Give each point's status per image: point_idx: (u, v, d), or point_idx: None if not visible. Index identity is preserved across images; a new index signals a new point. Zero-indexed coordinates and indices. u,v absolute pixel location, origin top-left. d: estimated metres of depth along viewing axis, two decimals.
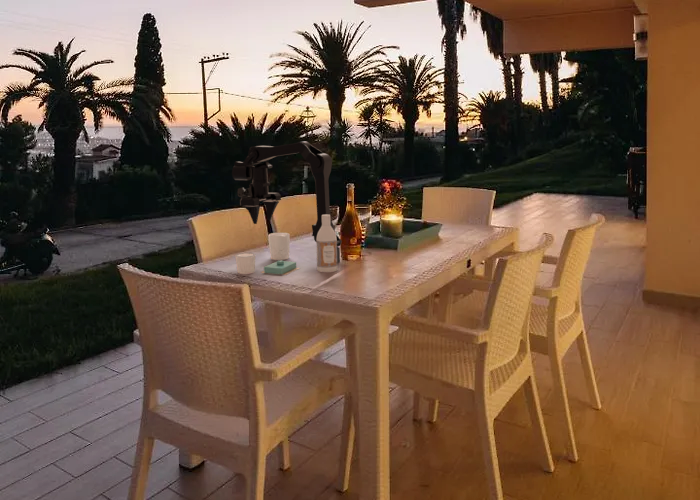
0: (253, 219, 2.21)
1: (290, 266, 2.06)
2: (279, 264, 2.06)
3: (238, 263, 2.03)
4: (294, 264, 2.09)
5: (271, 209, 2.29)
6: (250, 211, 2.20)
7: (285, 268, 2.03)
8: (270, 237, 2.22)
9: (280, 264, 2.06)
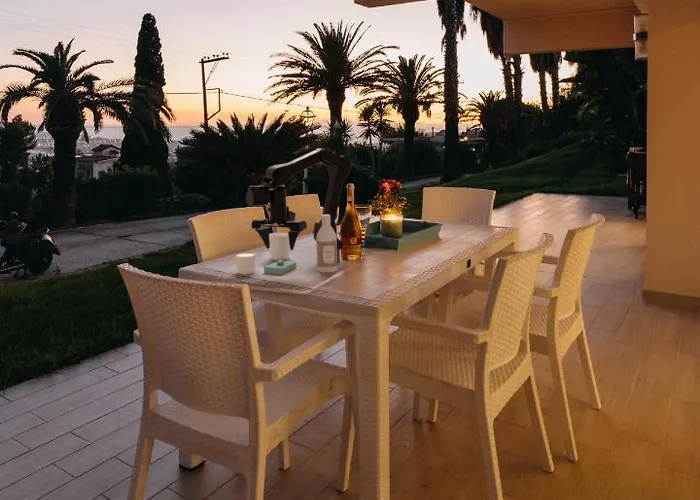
0: None
1: (290, 266, 2.06)
2: (279, 264, 2.06)
3: (238, 263, 2.03)
4: (294, 264, 2.09)
5: None
6: None
7: (285, 268, 2.03)
8: (270, 237, 2.22)
9: (280, 264, 2.06)
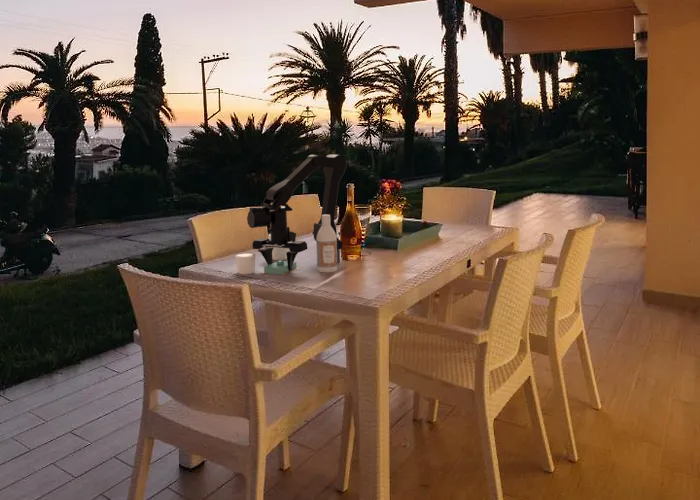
0: None
1: None
2: (279, 264, 2.06)
3: (238, 263, 2.03)
4: (294, 264, 2.09)
5: None
6: None
7: (285, 268, 2.03)
8: (270, 237, 2.22)
9: (280, 264, 2.06)
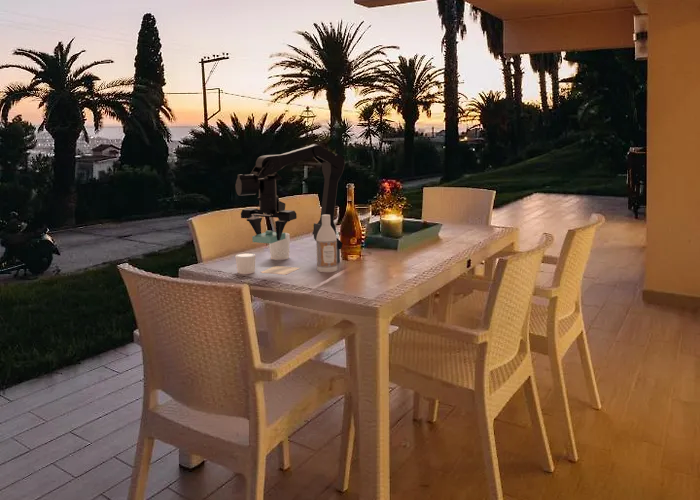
0: None
1: None
2: (268, 234, 2.03)
3: (238, 263, 2.03)
4: (283, 235, 2.06)
5: None
6: None
7: (274, 237, 2.00)
8: None
9: (269, 234, 2.03)
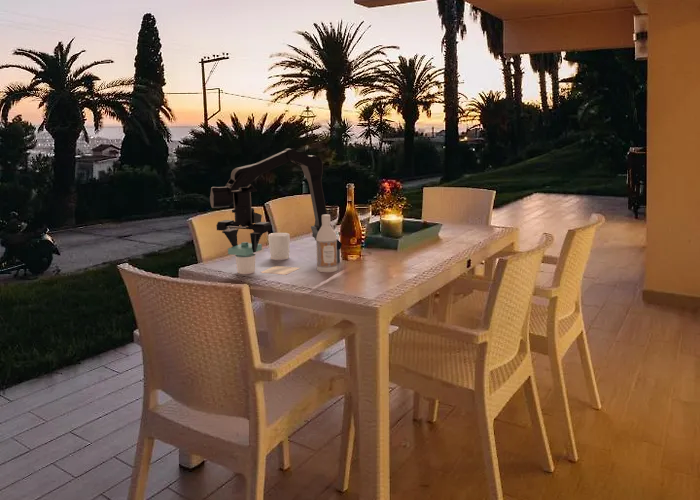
0: None
1: None
2: (243, 246, 2.03)
3: (238, 263, 2.03)
4: (260, 246, 2.06)
5: None
6: None
7: (249, 249, 2.00)
8: (270, 237, 2.22)
9: (244, 246, 2.03)
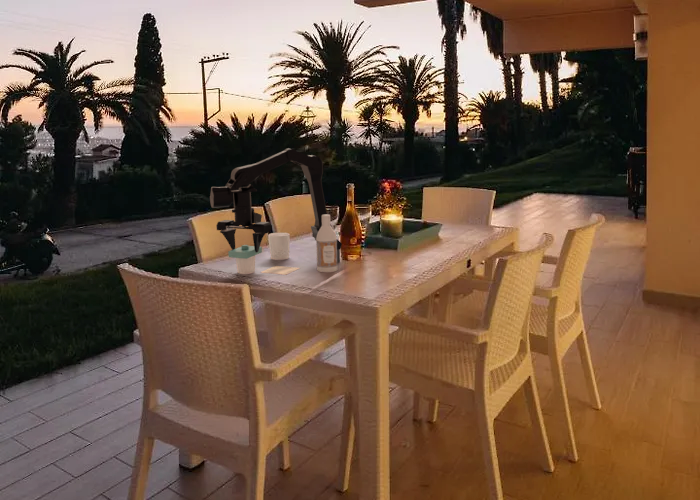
0: None
1: None
2: (244, 248, 2.03)
3: (238, 263, 2.03)
4: (260, 249, 2.07)
5: None
6: None
7: (250, 252, 2.01)
8: (270, 237, 2.22)
9: (245, 248, 2.03)
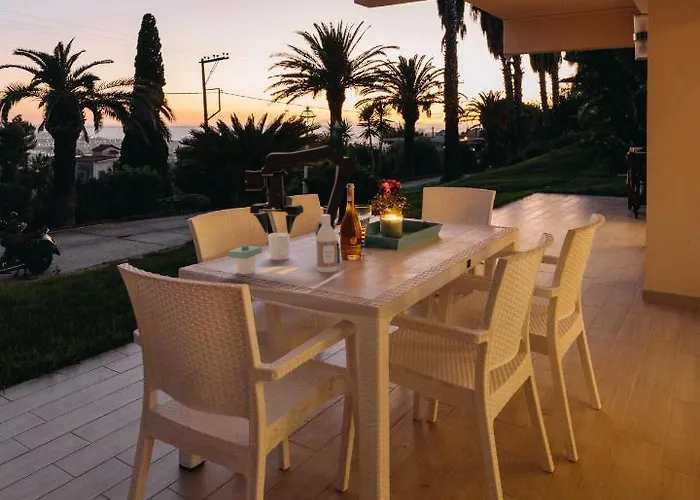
0: None
1: (255, 251, 2.04)
2: (244, 248, 2.03)
3: (238, 263, 2.03)
4: (260, 249, 2.07)
5: None
6: None
7: (250, 252, 2.01)
8: (270, 237, 2.22)
9: (245, 248, 2.03)
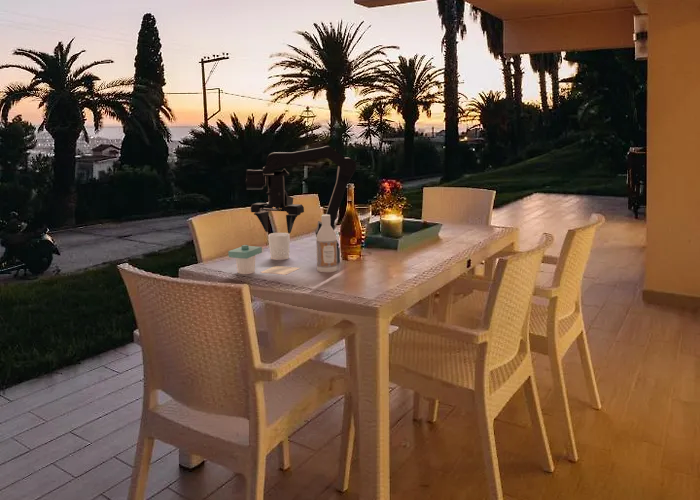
0: None
1: (255, 251, 2.04)
2: (244, 248, 2.03)
3: (238, 263, 2.03)
4: (260, 249, 2.07)
5: None
6: None
7: (250, 252, 2.01)
8: (270, 237, 2.22)
9: (245, 248, 2.03)
